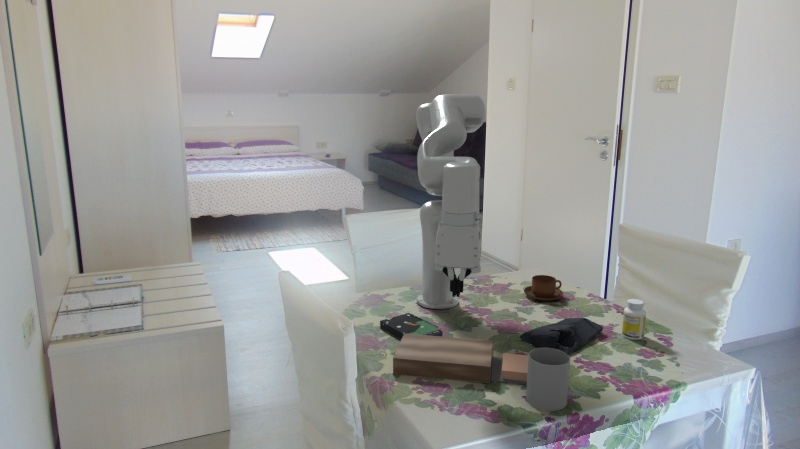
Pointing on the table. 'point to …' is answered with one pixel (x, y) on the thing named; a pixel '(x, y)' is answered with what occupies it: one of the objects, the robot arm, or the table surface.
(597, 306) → the table surface
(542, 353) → the cup
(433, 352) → the board
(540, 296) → the cup and saucer
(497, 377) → the mat
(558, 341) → the dark slate chunk
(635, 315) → the supplement bottle
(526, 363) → the tile
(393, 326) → the disk drive
